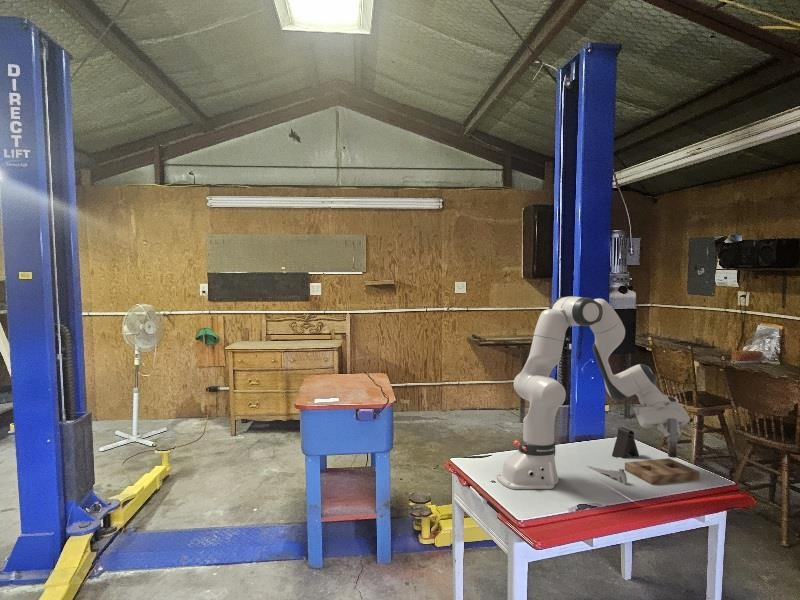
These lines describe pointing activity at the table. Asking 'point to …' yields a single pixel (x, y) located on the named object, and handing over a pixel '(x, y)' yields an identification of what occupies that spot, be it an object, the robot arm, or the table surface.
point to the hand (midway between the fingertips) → (673, 435)
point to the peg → (672, 438)
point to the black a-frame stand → (625, 444)
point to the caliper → (612, 473)
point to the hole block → (661, 471)
